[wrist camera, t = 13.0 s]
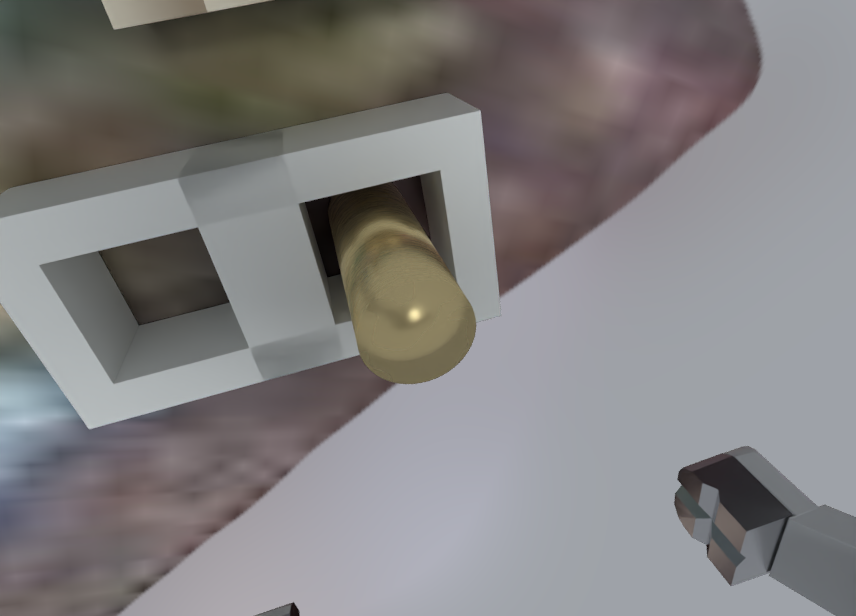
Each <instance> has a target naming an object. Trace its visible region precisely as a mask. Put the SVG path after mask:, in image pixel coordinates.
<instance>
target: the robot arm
mask: <svg viewBox="0 0 856 616" xmlns="http://www.w3.org/2000/svg"><path fill="white" fill-rule="evenodd" d="M678 481H679V482H680V483H681V485H682V486H681V487H680V488H679V489H678V491H677V492H676V493H675V501H674V505H675V508H676V511H677V514H678V517H679V519H680V521H681V522H682V524H683V526H684V527H685V529H686V530H687V531H688V533H689V534H690V535H691V537H692V538H694V539H696V540H698V541H700V542H702V543H704V544H706V546H707V557H708V558H709V560H710V561H711V562H712V563H713V564H714V566H715V567H716V568H717V570H718V571H719V572H720V573H721V575H722V576H723V577H724V578H725V579H726V581H727V582H728V583H729V585H730V586H733V585H736V584H739V583H742V582H745V581H747V580H751V579H753V578H756V577H759V576H762V575H765V574H767V573H770V574H769V576H770V577H772V578H774V579H776V580H777V581H779V582H780V583H782V584H784V585H785V586H787V587H789V588H790V589H792V590H794V591H795V592H797V593H799V594H800V595H802V596H804V597H806V598H807V599H809V600H810V601H812V602H814V603H815V604H817V605H819V606H820V607H822V608H824V609H825V610H827V611H829V612H831V613H832V614H834V615H836V616H856V517H854V516H851V515H849V514H846V513H844V512H842V511H839V510H837V509H834V508H832V507H829V506H827V505H822V506H819V507H818V506H817V505H816V504H815V503H813V502H812V501H811V500H810V499H809V498H808V497H807V496H806V495H805V494H804V493H803V492H801V491H800V490H799V489H798V488H797V487H796V486H795V485H794V484H792V482H790V481H789V480H788V479H787V478H786V477H785V476H784V475H783V474H782V473H781V472H780V471H778V470H777V469H776V468H775V467H774V466H773V465H772V464H771V463H769V461H767V460H766V459H765V458H764V457H763V456H762V455H761V454H760V453H758V452H757V451H756V450H755V449H753V448H751V447H749V446H744V447H740V448H737V449H734V450H731V451H729V452H726V453H722V454H719V455H716V456H713V457H711V458H708V459H705V460H702V461H700V462H697V463H695V464H692V465H689V466H686V467H683V468H682V469H681V470H680V471H679V473H678ZM255 616H300V615H299V610H298V608H297V606H296V605H295V603H294V602H293V603H290V604H287V605H284V606H281V607H279V608H275V609H272V610H270V611H267V612H264V613H261V614H258V615H255Z"/></svg>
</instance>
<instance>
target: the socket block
mask: <svg viewBox="0 0 856 616" xmlns="http://www.w3.org/2000/svg"><path fill="white" fill-rule="evenodd" d="M268 1H273V0H102V3H103V5H104V7H105V10H106V12H107V14H108V17H109V19H110V21H111V24H112V26H113V29H114V30H115V29H121V28H127V27H133V26H139V25H146V24H151V23H156V22H162V21H167V20H172V19H178V18H183V17H188V16H194V15H199V14H204V13H210V12H215V11H220V10H225V9H231V8H236V7H241V6H247V5H252V4H257V3H263V2H268Z"/></svg>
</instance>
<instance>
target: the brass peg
mask: <svg viewBox="0 0 856 616" xmlns="http://www.w3.org/2000/svg"><path fill="white" fill-rule="evenodd" d="M328 218H329V223H330V227H331V232H332V236H333V241H334V245H335V249H336V254H337V258H338V263H339V267H340V271H341V276H342V280H343V285H344V289H345V293H346V298H347V302H348V306H349V311H350V315H351V320H352V324H353V328H354V333H355V337H356V342H357V346H358V350H359V353H360V356H361V358H362V360H363V362H364V363H365V365H366V366H367V367H368V368H369V369H370V370H371V371H372V372H373V373H374V374H376V375H377V376H379V377H381V378H383V379H385V380H387V381H390V382H394V383H400V384H416V383H422V382H426V381H430V380H433V379H436V378H438V377H440V376H442V375H444V374H445V373H447V372H449V371H450V370H451V369H453V368H454V367H455V366H456V365H457V364H458V363H460V361H461V360H462V359H463V358H464V357H465V355H466V354H467V352H468V351H469V349H470V347H471V345H472V343H473V340H474V337H475V332H476V318H475V313H474V311H473V308H472V306H471V304H470V302H469V301H468V299H467V298H466V296H465V294H464V293H463V291H462V290H461V288H460V287H459V285H458V283H457V282H456V280H455V279H454V277H453V276H452V274H451V272H450V271H449V269H448V268H447V266H446V264H445V263H444V261H443V260H442V258H441V257H440V255H439V253H438V252H437V250H436V249H435V247H434V246H433V244H432V242H431V241H430V239H429V238H428V236H427V235H426V233H425V231H424V230H423V228H422V227H421V225H420V224H419V222H418V220H417V219H416V217H415V216H414V214H413V213H412V211H411V209H410V208H409V206H408V205H407V203H406V201H405V200H404V198H403V197H402V195H401V194H400V192H399V190H398V189H397V188H396V187H395V186H394V185H393V184H392V183H391V182H388V183H383V184H379V185H375V186H371V187H366V188H362V189H358V190H354V191H350V192H345V193H341V194H337V195H333V196H332V197H331V199H330V202H329V206H328Z"/></svg>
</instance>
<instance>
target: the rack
mask: <svg viewBox="0 0 856 616" xmlns="http://www.w3.org/2000/svg"><path fill="white" fill-rule="evenodd" d="M417 175H420V178H421V184H422V190H423V196H424V202H425V208H426V214H427V219H428V225H429V231H430V237H431V242H432V244H433V246H434V247H435V249H436V250H437V252H438V253H439V255H440V257H441V258H442V260H443V261H444V263H445V264H446V266H447V268H448V269H449V271H450V272H451V274H452V276H453V277H454V279H455V280H456V282H457V283H458V285H459V287H460V288H461V290H462V291H463V293H464V294H465V296H466V298H467V299H468V301H469V302H470V304H471V306H472V308H473V311H474V313H475V318H476V323H477V322H480V321H484V320H488V319H491V318H495V317H499V316H501V308H500V298H499V288H498V278H497V268H496V258H495V248H494V238H493V228H492V219H491V209H490V199H489V189H488V179H487V169H486V159H485V149H484V139H483V129H482V120H481V110H479V109H477V108H475V107H473V106H471V105H470V104H468V103H466V102H464V101H462V100H460V99H458V98H456V97H455V96H453V95H451V94H449V93H443V94H438V95H434V96H429V97H425V98H420V99H415V100H411V101H406V102H402V103H397V104H392V105H388V106H383V107H379V108H374V109H369V110H365V111H360V112H356V113H351V114H347V115H342V116H337V117H333V118H328V119H324V120H319V121H314V122H310V123H305V124H301V125H296V126H292V127H287V128H282V129H278V130H273V131H269V132H264V133H259V134H255V135H250V136H246V137H241V138H237V139H232V140H227V141H223V142H218V143H214V144H209V145H204V146H200V147H195V148H191V149H186V150H181V151H177V152H172V153H168V154H163V155H159V156H154V157H149V158H145V159H140V160H136V161H131V162H126V163H122V164H117V165H113V166H108V167H104V168H99V169H94V170H90V171H85V172H81V173H76V174H71V175H67V176H62V177H58V178H53V179H49V180H44V181H39V182H35V183H30V184H26V185H21V186H16V187H12V188H9V189H7V190H6V191H4V192H3V193H2V194H0V303H1V305H2V306H3V307H4V309H5V310H6V312H7V313H8V314H9V316H10V317H11V319H12V320H13V322H14V323H15V324H16V326H17V327H18V329H19V330H20V332H21V333H22V334H23V336H24V337H25V339H26V340H27V342H28V343H29V344H30V346H31V347H32V349H33V350H34V352H35V353H36V354H37V356H38V357H39V359H40V360H41V362H42V363H43V364H44V366H45V367H46V369H47V370H48V371H49V373H50V374H51V376H52V377H53V379H54V380H55V381H56V383H57V384H58V386H59V387H60V389H61V390H62V391H63V393H64V394H65V396H66V397H67V399H68V400H69V401H70V403H71V404H72V406H73V407H74V409H75V410H76V411H77V413H78V414H79V416H80V417H81V419H82V420H83V421H84V423H85V424H86V426H87V427H88V428H89V429H92V428H96V427H100V426H103V425H107V424H110V423H114V422H118V421H121V420H125V419H129V418H132V417H136V416H139V415H143V414H147V413H150V412H154V411H158V410H161V409H165V408H168V407H172V406H176V405H179V404H183V403H187V402H190V401H194V400H197V399H201V398H205V397H208V396H212V395H216V394H219V393H223V392H227V391H230V390H234V389H237V388H241V387H245V386H248V385H252V384H256V383H259V382H263V381H266V380H270V379H274V378H277V377H281V376H285V375H288V374H292V373H295V372H299V371H303V370H306V369H310V368H314V367H317V366H321V365H325V364H328V363H332V362H335V361H339V360H343V359H346V358H350V357H354V356H357V355H360V353H359V350H358V346H357V342H356V337H355V333H354V328H353V324H352V320H351V315H350V311H349V306H348V302H347V298H346V293H345V289H344V285H343V280H342V276H341V274H339V275H335V276H331V277H328V278H327V275H326V272H325V268H324V265H323V262H322V258H321V255H320V252H319V248H318V245H317V242H316V238H315V235H314V232H313V228H312V225H311V221H310V218H309V215H308V211H307V208H306V205H305V202H307V201H311V200H316V199H320V198H324V197H328V196H333V195H337V194H341V193H345V192H350V191H354V190H358V189H362V188H366V187H371V186H375V185H379V184H383V183H388V182H392V181H396V180H400V179H405V178H409V177H413V176H417ZM197 227H198V228H199V231H200V233H201V235H202V238H203V240H204V242H205V245H206V247H207V249H208V252H209V254H210V257H211V259H212V261H213V264H214V266H215V268H216V271H217V273H218V275H219V278H220V280H221V282H222V285H223V287H224V289H225V292H226V294H227V296H228V299H229V301H230V303H226V304H222V305H218V306H214V307H210V308H206V309H202V310H198V311H194V312H190V313H187V314H183V315H179V316H175V317H171V318H167V319H163V320H159V321H155V322H151V323H147V324H143V325H140V326H139V325H138V323H137V321H136V319H135V318H134V316H133V314H132V312H131V310H130V308H129V307H128V305H127V303H126V301H125V299H124V298H123V296H122V294H121V292H120V290H119V288H118V287H117V285H116V283H115V281H114V279H113V278H112V276H111V274H110V272H109V270H108V268H107V267H106V265H105V263H104V261H103V259H102V258H101V256H100V254H99V252H98V251H100V250H104V249H108V248H113V247H117V246H121V245H125V244H130V243H134V242H138V241H142V240H147V239H151V238H155V237H159V236H163V235H168V234H172V233H176V232H180V231H185V230H189V229H193V228H197Z"/></svg>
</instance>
